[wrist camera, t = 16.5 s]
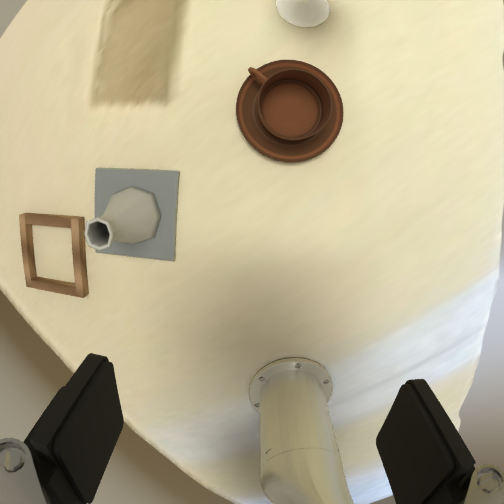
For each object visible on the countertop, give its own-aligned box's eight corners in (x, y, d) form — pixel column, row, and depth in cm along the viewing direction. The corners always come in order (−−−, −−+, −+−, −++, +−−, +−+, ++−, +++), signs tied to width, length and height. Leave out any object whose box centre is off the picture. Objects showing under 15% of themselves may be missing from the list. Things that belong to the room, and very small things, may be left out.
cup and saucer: (220, 137, 35) (214, 133, 30) (261, 49, 32) (262, 31, 26) (315, 178, 37) (326, 182, 31) (353, 91, 34) (370, 80, 28)
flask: (162, 244, 38) (134, 273, 29) (109, 242, 38) (71, 268, 29) (161, 185, 36) (130, 195, 27) (107, 186, 36) (64, 197, 27)
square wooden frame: (88, 293, 41) (83, 297, 40) (32, 282, 41) (26, 286, 39) (84, 217, 38) (78, 219, 37) (25, 212, 38) (19, 215, 36)
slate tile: (175, 259, 40) (173, 261, 39) (97, 251, 39) (95, 252, 39) (179, 171, 36) (178, 171, 36) (97, 167, 36) (95, 168, 36)
